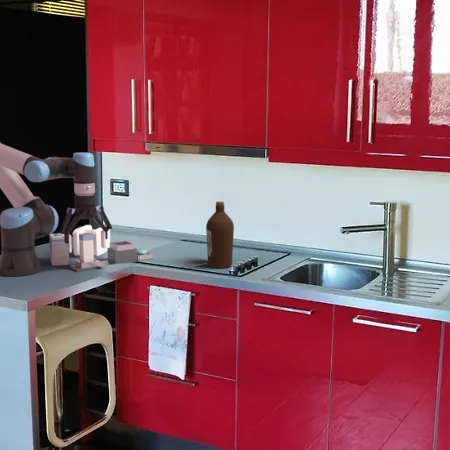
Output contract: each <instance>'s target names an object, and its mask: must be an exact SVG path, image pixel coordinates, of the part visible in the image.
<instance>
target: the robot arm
mask: <svg viewBox="0 0 450 450" xmlns="http://www.w3.org/2000/svg"><path fill="white" fill-rule="evenodd" d="M94 158H95V157H94V154H93V153H92V152H74V153H73V156H72V157H58V156H52V157H47V158H44V159H41V158H39V157H36V156H34V155H31V154H29V153H26V152H24V151H21V150H18V149H16V148H13V147H11V146H8V145H6V144H3V143H1V142H0V190H1V191H2V192H3V194H4V195H5V196H6V198H7V199H8V201H9V202H10V204H11V205H12V206H13V207H11V208H7V209H5V210H3V211H2V212H1V214H0V235H1V236H0V240H1V241H0V242H1V255H0V275H1V276H6V277H20V276H21V277H23V276H30V275H34V274H37V273H40V272H41V264H40V263H41V262H40V260H39V258H38V256H37V252H36V250H35V249H36V248H35V240H37V239H40V238H44V237H47V236H49V234H54V232H55V231H56V230H57V228H58V225H59V215H58V212H57V210H56V209H55V208H54V207H53V206H51V205H48V204H45V202H44V201H43V200H42V199H41V197H39V196H34V195H33V193H32V192H31V190H30V189H29V187H28V186H27V184H26V183H25V182H24V180H23V179H22V177H21V176H20V175H24V176H25V177H26V179H27V180H28V181H30V182H32V183H42V182H45V181H46V182H47V181H50V180H55V179H61V178H63V179H66V178H67V179H68V178H69V179H73V184H74V186H73V187H74V194H75V195H74V208H70V207H67V209H66V214H65V217H64V219H63V221H62V223H61V225H60V228H59V231H58V232H59V233H61V234H64V241H65V243H66V244H67V251H68V252H69V254H71V253H73V251H72V249H73V247H72V235H71V233H72V231H74V230H73V229H74V228H75V227H76V226H77V224H78V222H80V220H86V219H87V220H91V219H92V220H93V221H94V222H95V223H96V224H97V225H98V226H99V228H100V227H101V228H102V229H103V231H101V247H102V248H104V249H105V248H106V239H107V238H108V233H107V232H108V231H109V229H110V230H112V229H113V226H112V224H111V222H110V220H109V218H108V216H107V214H106V212H105V207H104V206H103V205H100V204H99V205H98V206H96V195H95V193H96V181H95V159H94ZM96 211H97V212H99V213H98V214H99V215H100V217H101V219H102V220H100V219H99V217H98V216H97V215H96ZM74 213H75V216H73V219H72V220H71V218H72V215H74ZM70 221H71V222H70ZM102 221H103V222H102ZM105 225H106V226H105Z"/></svg>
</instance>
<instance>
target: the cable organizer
mask: <svg viewBox="0 0 450 450" xmlns="http://www.w3.org/2000/svg"><path fill="white" fill-rule="evenodd" d="M104 225H105V224H104ZM105 226H106V225H105ZM101 231H103V229H102V228H101V227H100V226H99V227H98V228H96V229H94V228H93V226H92V225H91V224H85V225H83V226H79V227H78V228H76V229H74V230H73V232H72V239H73V240H72V242H73V243H72V244H73V255H74V256H75V257H78V256H80V245H79V234H83V233H91V234H93V247H94V257H99V256H101V255H103V254H105V253H106V252H107V253H108V251H107V248H110V243H111V229H109V231H108V232H107V233H108V238H107V239H106V248H105V249H104V248H102V247H101Z"/></svg>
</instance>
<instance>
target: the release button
mask: <svg viewBox="0 0 450 450" xmlns="http://www.w3.org/2000/svg"><path fill="white" fill-rule="evenodd" d="M147 252H148V249H146V248H145V249H142V248H140V249H137V255H144V254H147Z"/></svg>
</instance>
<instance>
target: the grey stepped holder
mask: <svg viewBox="0 0 450 450" xmlns="http://www.w3.org/2000/svg"><path fill="white" fill-rule="evenodd" d="M137 250H138V248H136V247H135V243H133V242H130V241H128V240H122V241H121V240H120V241H113V242H111V241H110V248H107V260H98V259H96V258H95V257H94V261H92V262H85V263H82V262H80V258H77V259H74V264H71V265H70V264H69V268H70V269H72V270H74V271H75V272H76V273H77V272H85V271H86V272H87V271H92V270H100V269H102V267H105V266H111V265H119V264H120V265H121V264H128V263H134V262H143V261H149V260H151V261H152V260H154V258H153V253H151V252H149V251H147V254H144V255H137Z"/></svg>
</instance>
